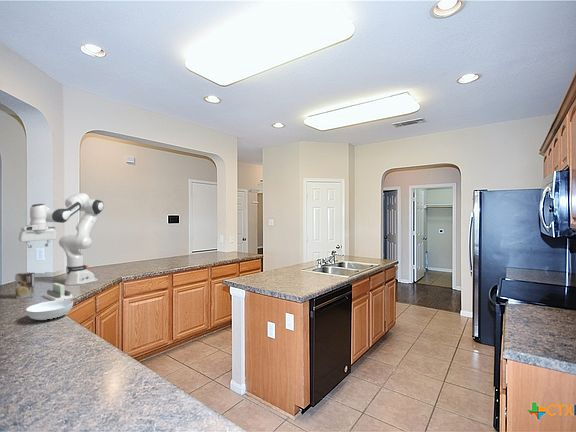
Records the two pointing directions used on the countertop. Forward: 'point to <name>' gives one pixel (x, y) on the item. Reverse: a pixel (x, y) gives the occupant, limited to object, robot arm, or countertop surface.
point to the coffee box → (24, 285)
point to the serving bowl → (49, 309)
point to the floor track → (57, 295)
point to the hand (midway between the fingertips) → (38, 247)
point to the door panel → (59, 288)
